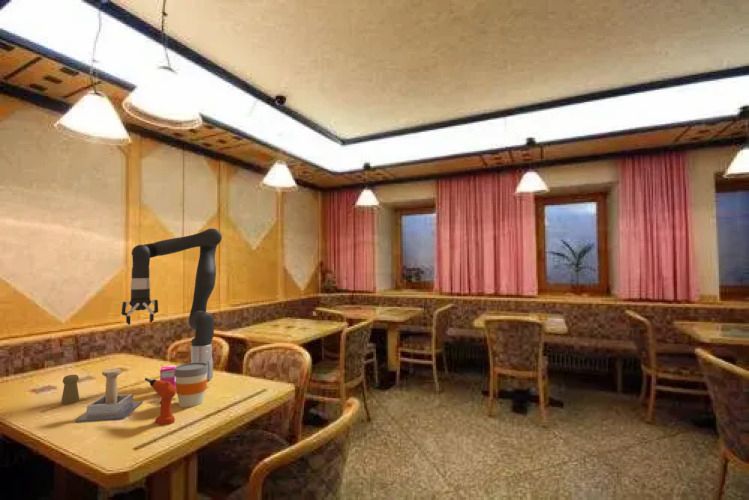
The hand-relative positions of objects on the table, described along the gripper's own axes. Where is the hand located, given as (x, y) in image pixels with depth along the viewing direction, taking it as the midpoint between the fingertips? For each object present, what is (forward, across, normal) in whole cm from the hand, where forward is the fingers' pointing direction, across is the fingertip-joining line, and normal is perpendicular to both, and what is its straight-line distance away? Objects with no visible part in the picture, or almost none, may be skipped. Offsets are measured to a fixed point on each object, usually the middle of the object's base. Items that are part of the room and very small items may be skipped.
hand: (140, 323), depth 173 cm
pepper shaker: (+30, -25, +2) cm, 39 cm away
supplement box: (+30, +9, -14) cm, 35 cm away
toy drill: (+30, 0, -44) cm, 53 cm away
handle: (+30, -13, -24) cm, 40 cm away
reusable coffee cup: (+30, +14, -34) cm, 48 cm away
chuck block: (+30, -13, -24) cm, 40 cm away
